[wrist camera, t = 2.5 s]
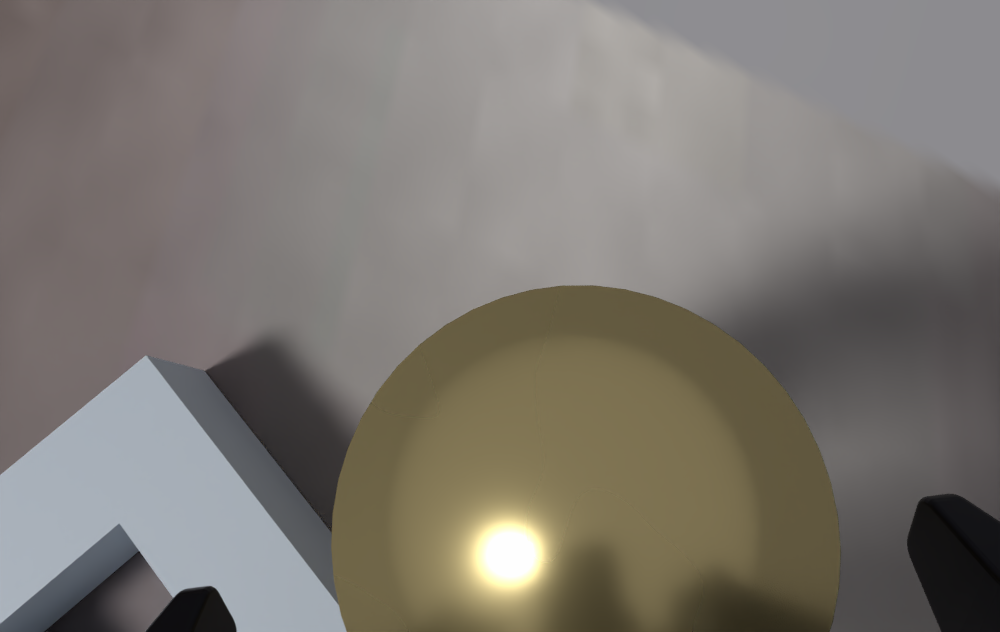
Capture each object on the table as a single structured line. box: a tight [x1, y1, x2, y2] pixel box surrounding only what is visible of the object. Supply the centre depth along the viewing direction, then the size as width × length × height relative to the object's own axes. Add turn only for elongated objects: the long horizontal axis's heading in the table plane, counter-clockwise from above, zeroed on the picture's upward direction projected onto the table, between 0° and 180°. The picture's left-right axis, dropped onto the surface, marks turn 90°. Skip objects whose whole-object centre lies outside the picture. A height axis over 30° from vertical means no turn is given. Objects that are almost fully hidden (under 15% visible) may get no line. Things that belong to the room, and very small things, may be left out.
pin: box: [331, 286, 841, 632], centre depth 12 cm, size 3×3×14 cm
